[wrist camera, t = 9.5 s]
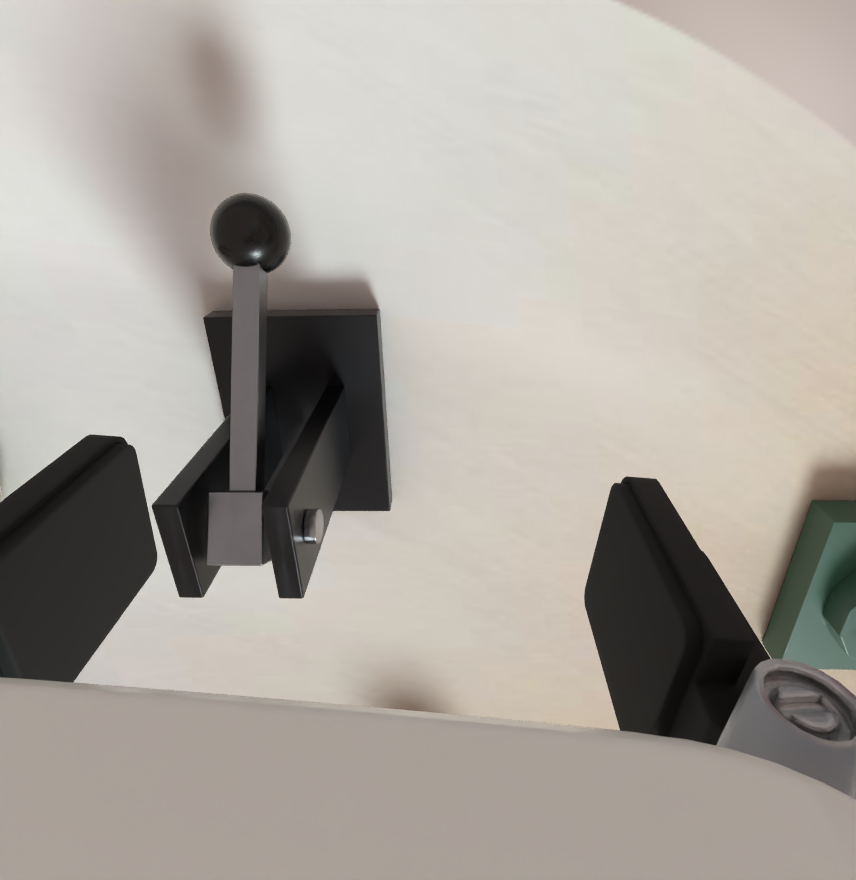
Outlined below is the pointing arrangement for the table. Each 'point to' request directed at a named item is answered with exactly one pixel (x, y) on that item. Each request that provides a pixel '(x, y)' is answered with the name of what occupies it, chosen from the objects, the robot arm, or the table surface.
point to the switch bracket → (291, 443)
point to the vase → (1, 495)
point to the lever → (246, 375)
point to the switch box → (819, 592)
